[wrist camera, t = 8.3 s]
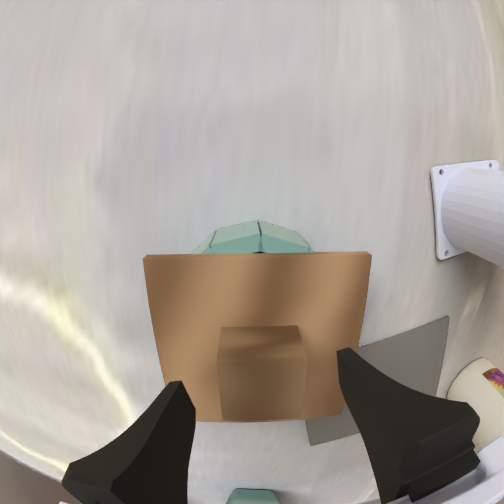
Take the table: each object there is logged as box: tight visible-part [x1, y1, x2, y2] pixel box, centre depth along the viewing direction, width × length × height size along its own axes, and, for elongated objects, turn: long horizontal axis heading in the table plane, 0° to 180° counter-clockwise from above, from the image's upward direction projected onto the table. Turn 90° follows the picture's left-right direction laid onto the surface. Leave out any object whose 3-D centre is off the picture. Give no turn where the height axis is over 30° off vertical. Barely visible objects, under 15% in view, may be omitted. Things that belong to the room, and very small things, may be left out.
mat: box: [306, 316, 450, 446], centre depth 25 cm, size 16×13×1 cm
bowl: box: [192, 220, 314, 254], centre depth 20 cm, size 11×11×4 cm
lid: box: [143, 252, 372, 422], centre depth 16 cm, size 13×13×4 cm
